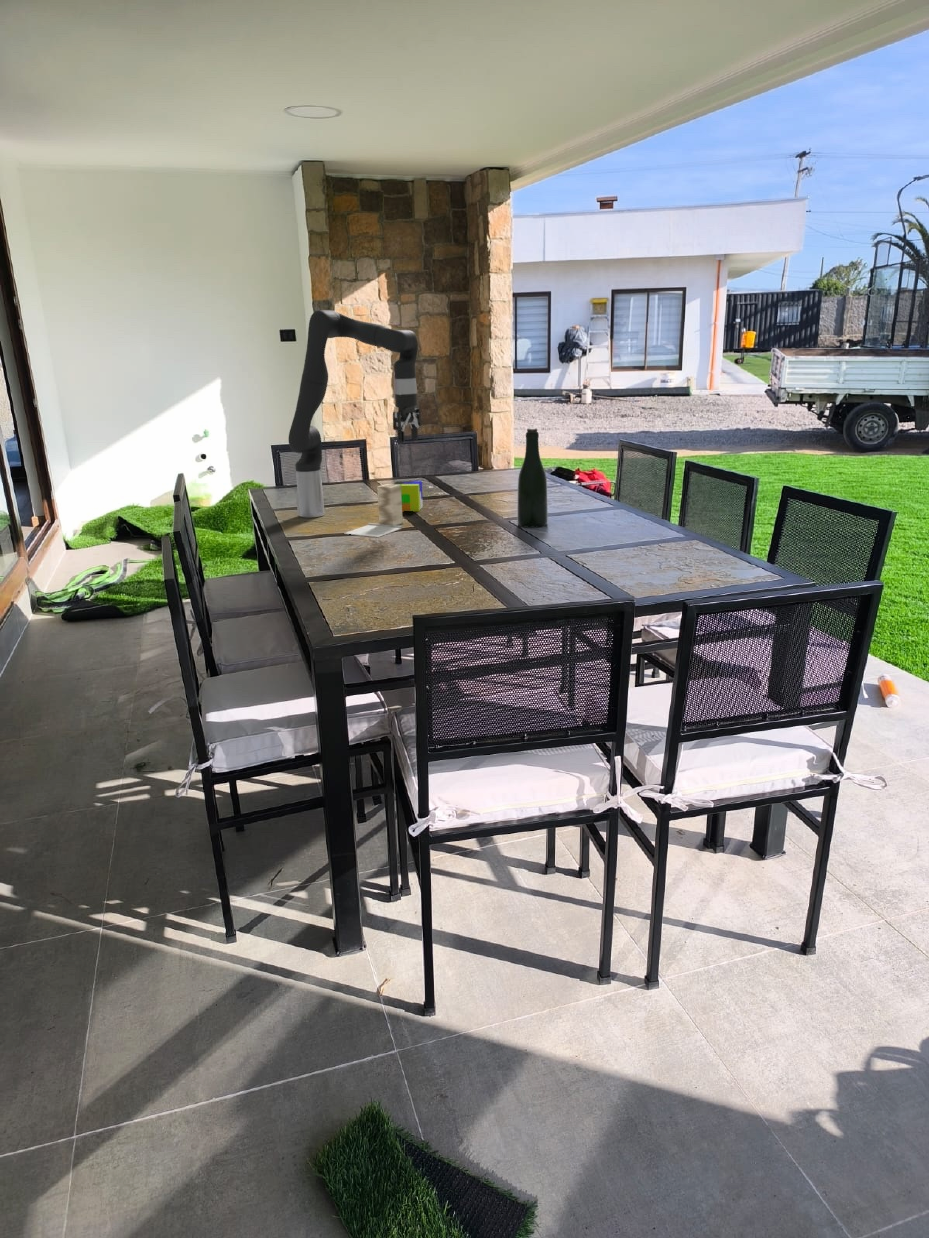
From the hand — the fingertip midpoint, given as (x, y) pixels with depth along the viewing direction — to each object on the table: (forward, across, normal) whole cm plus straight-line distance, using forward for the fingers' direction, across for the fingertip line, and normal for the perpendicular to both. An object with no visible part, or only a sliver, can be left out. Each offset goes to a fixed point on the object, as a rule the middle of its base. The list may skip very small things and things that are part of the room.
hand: (408, 441), depth 288 cm
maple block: (+29, +3, -7) cm, 30 cm away
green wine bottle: (+30, -15, +40) cm, 52 cm away
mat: (+29, +14, -7) cm, 33 cm away
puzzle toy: (+30, -24, -17) cm, 42 cm away
